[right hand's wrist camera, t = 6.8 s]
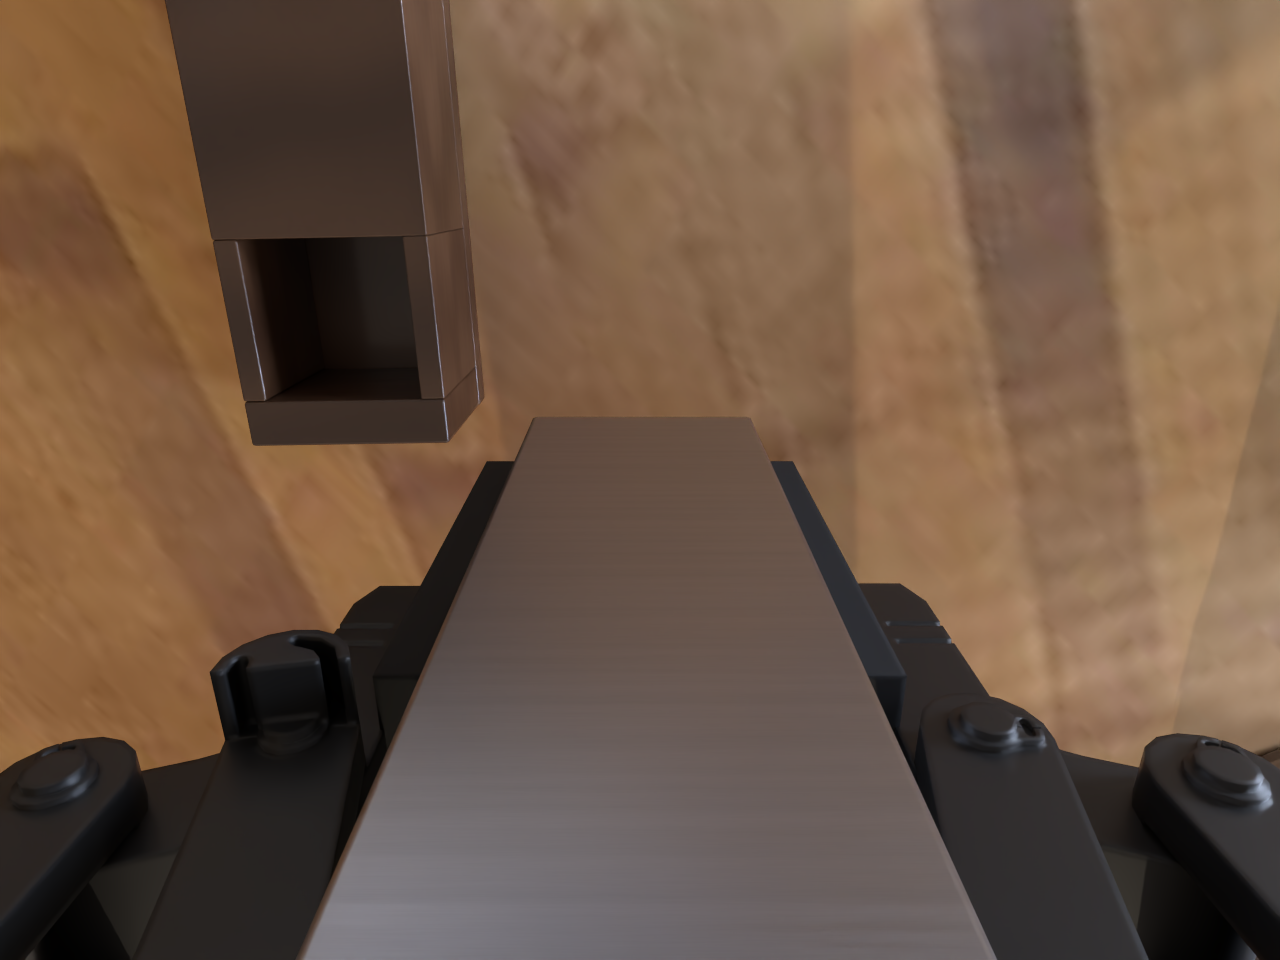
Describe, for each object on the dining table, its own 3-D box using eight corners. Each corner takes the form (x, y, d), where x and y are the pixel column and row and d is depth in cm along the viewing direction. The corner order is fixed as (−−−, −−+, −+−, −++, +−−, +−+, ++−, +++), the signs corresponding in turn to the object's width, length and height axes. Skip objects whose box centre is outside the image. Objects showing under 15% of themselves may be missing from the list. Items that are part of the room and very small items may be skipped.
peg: (751, 415, 14) (1132, 1236, 3) (741, 607, 16) (984, 1637, 5) (531, 415, 14) (163, 1238, 3) (541, 607, 16) (308, 1639, 5)
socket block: (195, -390, 23) (51, -573, 18) (413, -397, 23) (339, -584, 18) (322, 401, 32) (252, 446, 26) (484, 398, 32) (449, 443, 26)
